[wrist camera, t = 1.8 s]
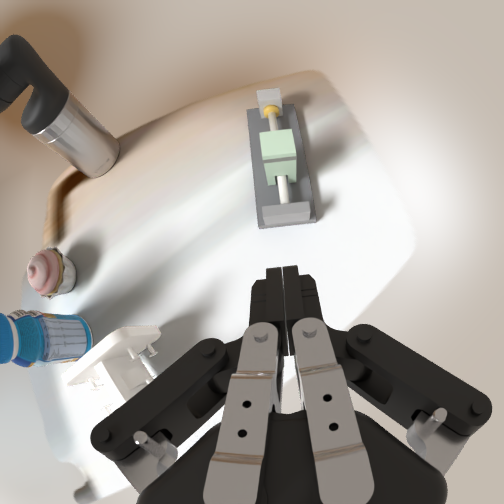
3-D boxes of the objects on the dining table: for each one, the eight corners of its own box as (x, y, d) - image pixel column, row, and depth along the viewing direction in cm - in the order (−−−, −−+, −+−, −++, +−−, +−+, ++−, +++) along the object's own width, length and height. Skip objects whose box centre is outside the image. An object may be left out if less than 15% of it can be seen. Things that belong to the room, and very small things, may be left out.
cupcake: (62, 312, 42) (23, 308, 33) (45, 274, 45) (9, 264, 35) (90, 280, 43) (50, 270, 33) (71, 241, 45) (34, 227, 35)
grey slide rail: (315, 222, 39) (318, 207, 34) (259, 229, 40) (253, 214, 35) (293, 109, 44) (293, 86, 38) (248, 115, 45) (242, 92, 39)
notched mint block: (296, 182, 39) (296, 152, 31) (267, 186, 40) (261, 156, 32) (292, 160, 40) (291, 128, 32) (265, 163, 40) (258, 132, 33)
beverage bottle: (102, 342, 40) (6, 346, 21) (79, 370, 39) (-10, 382, 20) (78, 304, 42) (-14, 290, 23) (56, 333, 42) (-29, 330, 22)
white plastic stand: (165, 320, 39) (122, 320, 28) (207, 380, 37) (175, 402, 25) (103, 368, 39) (55, 377, 28) (138, 422, 36) (96, 446, 25)
